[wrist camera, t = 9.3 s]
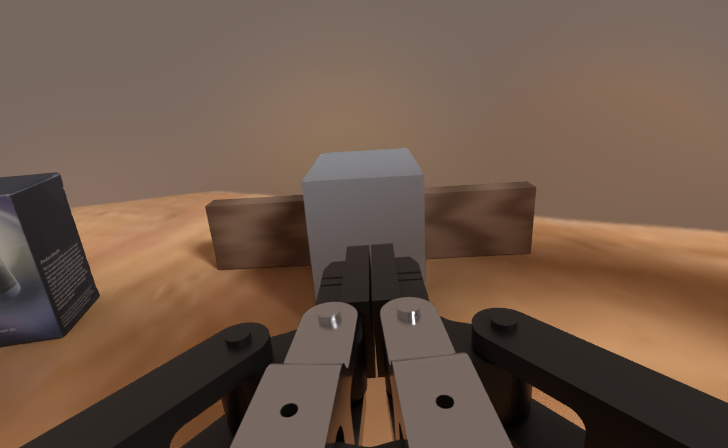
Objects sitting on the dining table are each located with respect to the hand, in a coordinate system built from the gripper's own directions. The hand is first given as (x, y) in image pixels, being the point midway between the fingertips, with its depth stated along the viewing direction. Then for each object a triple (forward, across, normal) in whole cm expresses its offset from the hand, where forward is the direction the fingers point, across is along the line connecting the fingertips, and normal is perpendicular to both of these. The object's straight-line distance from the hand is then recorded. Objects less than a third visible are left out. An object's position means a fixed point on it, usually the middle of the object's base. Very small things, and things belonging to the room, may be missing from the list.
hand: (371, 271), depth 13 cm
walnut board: (+21, 0, +9) cm, 23 cm away
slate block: (+15, 0, +9) cm, 18 cm away
